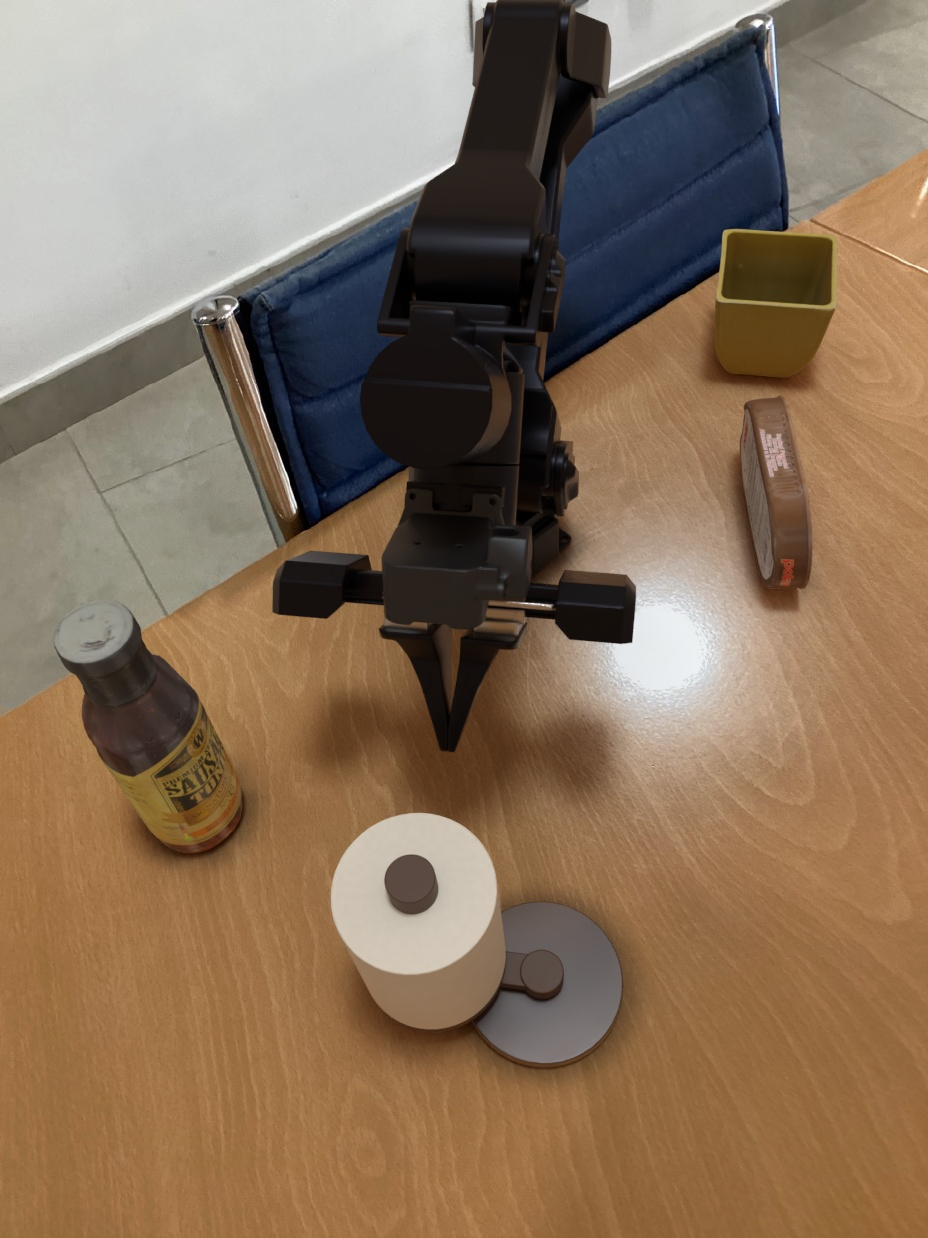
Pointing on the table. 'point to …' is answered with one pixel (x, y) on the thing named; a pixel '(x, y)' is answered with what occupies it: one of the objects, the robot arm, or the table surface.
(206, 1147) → the table surface
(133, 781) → the sauce bottle
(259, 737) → the table surface
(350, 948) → the paper towel roll
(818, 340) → the flower pot
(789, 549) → the tin
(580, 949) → the swivel base
